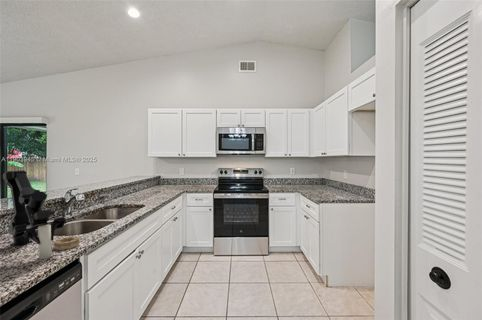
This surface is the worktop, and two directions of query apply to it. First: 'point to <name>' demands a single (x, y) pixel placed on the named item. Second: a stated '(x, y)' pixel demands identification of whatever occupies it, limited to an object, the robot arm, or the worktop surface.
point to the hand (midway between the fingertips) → (46, 242)
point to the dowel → (44, 241)
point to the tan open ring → (66, 243)
